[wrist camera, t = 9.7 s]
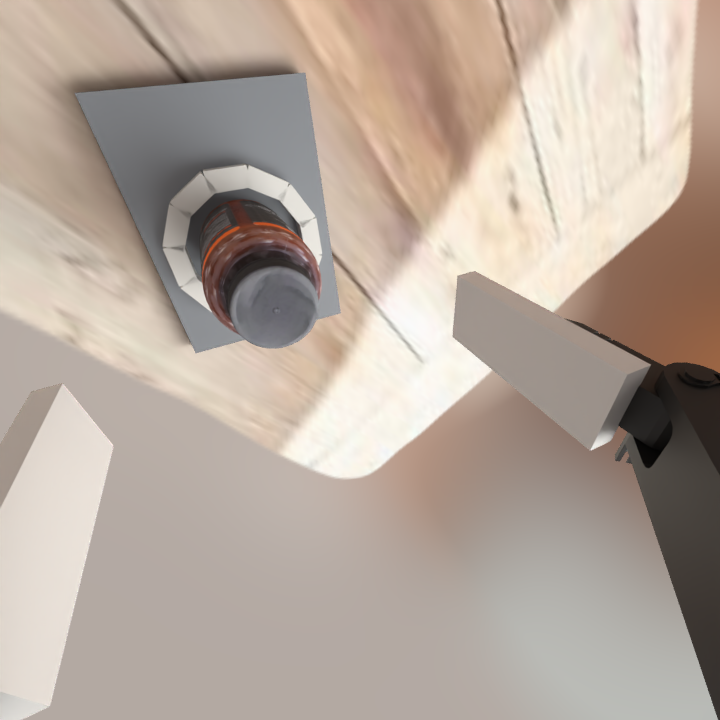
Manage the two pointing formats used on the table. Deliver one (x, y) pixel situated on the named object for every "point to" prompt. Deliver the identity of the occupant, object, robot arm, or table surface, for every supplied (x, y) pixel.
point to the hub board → (212, 174)
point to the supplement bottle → (258, 274)
